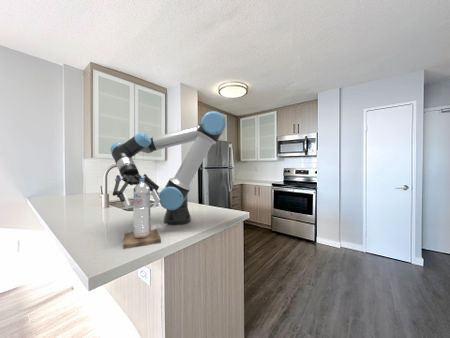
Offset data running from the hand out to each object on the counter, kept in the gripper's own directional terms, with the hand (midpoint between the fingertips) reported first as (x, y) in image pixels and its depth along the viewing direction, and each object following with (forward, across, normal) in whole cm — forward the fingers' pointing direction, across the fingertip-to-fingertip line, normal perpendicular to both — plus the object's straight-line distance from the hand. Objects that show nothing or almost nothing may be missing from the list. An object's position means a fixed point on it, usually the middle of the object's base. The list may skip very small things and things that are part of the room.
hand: (144, 204), depth 82 cm
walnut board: (+10, 0, -13) cm, 16 cm away
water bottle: (+9, 0, -12) cm, 15 cm away
